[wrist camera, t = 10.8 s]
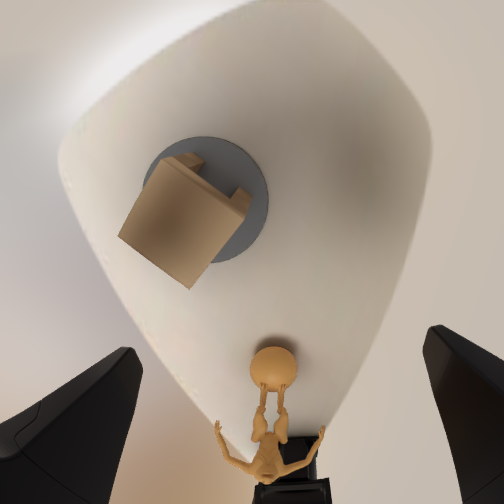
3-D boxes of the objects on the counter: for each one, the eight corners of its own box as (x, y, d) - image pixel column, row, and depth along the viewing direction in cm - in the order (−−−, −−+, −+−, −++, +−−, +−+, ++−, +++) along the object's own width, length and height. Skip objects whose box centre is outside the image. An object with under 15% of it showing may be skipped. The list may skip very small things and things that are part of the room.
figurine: (323, 338, 23) (343, 463, 12) (312, 383, 26) (320, 492, 14) (227, 333, 24) (198, 457, 13) (228, 378, 26) (207, 486, 15)
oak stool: (252, 196, 18) (244, 219, 13) (210, 250, 20) (189, 289, 15) (192, 151, 18) (161, 159, 13) (154, 209, 19) (117, 236, 14)
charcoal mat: (274, 255, 20) (274, 257, 20) (158, 265, 22) (157, 267, 21) (259, 127, 17) (259, 127, 17) (134, 151, 18) (131, 151, 18)
